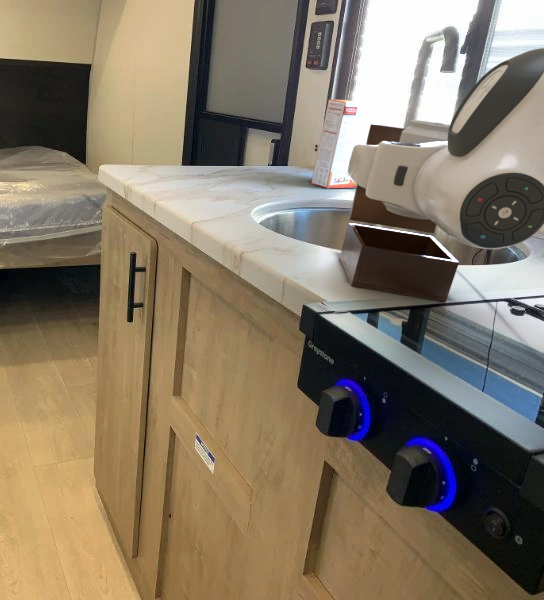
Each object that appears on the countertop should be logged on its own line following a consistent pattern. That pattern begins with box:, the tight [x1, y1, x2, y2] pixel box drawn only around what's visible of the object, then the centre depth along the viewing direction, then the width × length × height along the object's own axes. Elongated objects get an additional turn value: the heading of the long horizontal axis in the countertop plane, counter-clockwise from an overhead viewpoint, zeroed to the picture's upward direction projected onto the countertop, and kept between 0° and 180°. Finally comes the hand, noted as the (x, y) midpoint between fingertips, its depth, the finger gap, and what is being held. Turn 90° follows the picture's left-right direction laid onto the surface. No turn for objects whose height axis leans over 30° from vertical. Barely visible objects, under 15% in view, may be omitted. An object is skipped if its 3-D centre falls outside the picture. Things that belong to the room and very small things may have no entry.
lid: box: [348, 124, 437, 234], centre depth 90 cm, size 14×12×5 cm
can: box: [383, 119, 450, 219], centre depth 79 cm, size 8×8×12 cm
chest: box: [339, 222, 460, 303], centre depth 84 cm, size 13×12×6 cm
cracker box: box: [310, 98, 384, 189], centre depth 150 cm, size 14×6×21 cm, turn 122°
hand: (421, 164), depth 79 cm, fingers closed on can, 7 cm apart
